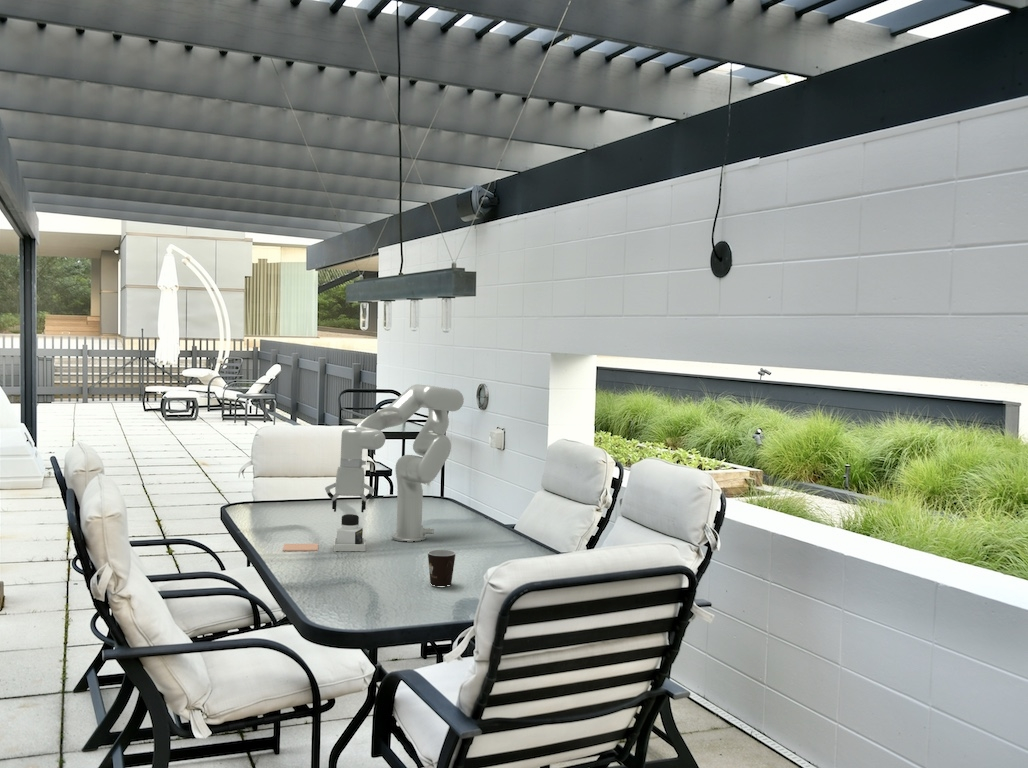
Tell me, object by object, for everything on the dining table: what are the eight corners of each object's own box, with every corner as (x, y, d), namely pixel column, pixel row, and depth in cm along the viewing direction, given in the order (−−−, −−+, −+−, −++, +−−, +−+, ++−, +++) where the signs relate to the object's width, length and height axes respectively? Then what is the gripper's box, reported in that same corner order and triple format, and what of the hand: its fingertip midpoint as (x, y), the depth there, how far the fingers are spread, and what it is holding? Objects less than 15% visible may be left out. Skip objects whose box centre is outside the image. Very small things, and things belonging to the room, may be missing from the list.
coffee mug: (427, 580, 294) (428, 549, 293) (454, 581, 295) (455, 549, 294) (426, 591, 282) (427, 558, 282) (454, 591, 283) (455, 558, 282)
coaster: (318, 545, 338) (318, 543, 338) (317, 551, 328) (317, 549, 328) (284, 545, 336) (284, 543, 336) (282, 551, 326) (282, 550, 326)
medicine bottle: (355, 551, 331) (356, 517, 330) (336, 549, 332) (337, 516, 332) (362, 546, 338) (363, 513, 337) (343, 545, 339) (344, 512, 339)
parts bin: (364, 544, 341) (365, 537, 341) (365, 551, 330) (365, 544, 330) (334, 544, 339) (334, 537, 339) (333, 551, 329) (333, 544, 328)
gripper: (375, 463, 338) (373, 510, 339) (326, 461, 335) (324, 509, 336) (375, 465, 331) (373, 514, 332) (325, 464, 328) (323, 512, 329)
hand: (348, 511), depth 334 cm, fingers open, 9 cm apart
